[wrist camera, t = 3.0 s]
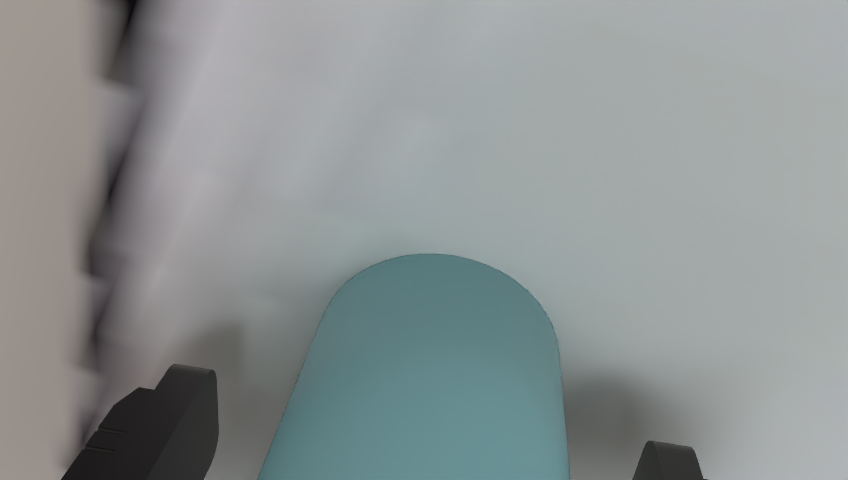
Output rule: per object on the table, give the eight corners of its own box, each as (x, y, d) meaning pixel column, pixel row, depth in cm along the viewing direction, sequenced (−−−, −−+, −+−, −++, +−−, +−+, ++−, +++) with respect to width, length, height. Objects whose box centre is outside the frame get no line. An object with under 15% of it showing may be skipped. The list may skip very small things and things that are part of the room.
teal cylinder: (323, 235, 14) (205, 479, 8) (584, 275, 13) (628, 552, 8) (313, 425, 16) (218, 705, 11) (533, 462, 16) (543, 764, 11)
